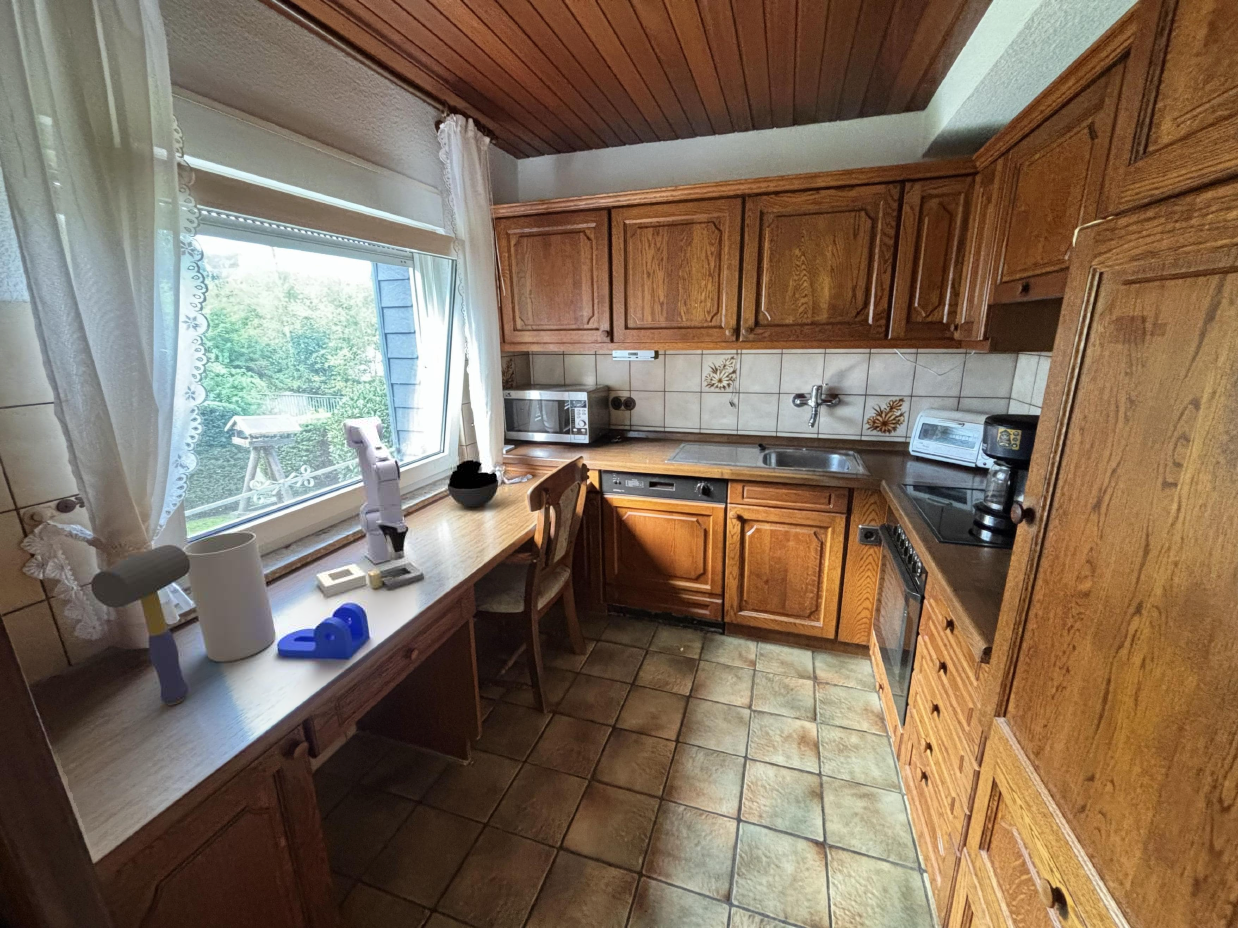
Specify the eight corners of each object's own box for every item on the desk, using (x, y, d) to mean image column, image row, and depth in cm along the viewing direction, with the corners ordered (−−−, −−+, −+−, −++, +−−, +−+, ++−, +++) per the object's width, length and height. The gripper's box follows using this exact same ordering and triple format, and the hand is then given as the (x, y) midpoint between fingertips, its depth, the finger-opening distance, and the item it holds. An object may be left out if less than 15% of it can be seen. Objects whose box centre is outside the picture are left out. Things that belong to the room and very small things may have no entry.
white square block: (317, 584, 143) (316, 574, 142) (355, 573, 149) (354, 563, 149) (327, 596, 136) (325, 586, 135) (366, 584, 142) (365, 574, 142)
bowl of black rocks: (487, 495, 222) (483, 454, 218) (508, 506, 207) (505, 461, 203) (442, 505, 210) (437, 461, 205) (461, 517, 195) (457, 470, 190)
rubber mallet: (188, 678, 103) (153, 541, 96) (222, 680, 103) (190, 541, 95) (125, 723, 91) (80, 570, 84) (163, 725, 90) (121, 571, 83)
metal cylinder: (387, 557, 144) (384, 534, 142) (401, 553, 147) (398, 530, 145) (392, 561, 141) (389, 538, 139) (406, 557, 144) (403, 534, 142)
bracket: (370, 638, 117) (364, 602, 114) (348, 660, 109) (342, 622, 106) (296, 635, 118) (289, 600, 116) (269, 657, 110) (261, 620, 108)
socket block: (375, 578, 146) (374, 572, 145) (410, 567, 152) (409, 562, 152) (388, 590, 139) (387, 584, 138) (424, 578, 145) (423, 572, 145)
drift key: (369, 585, 141) (367, 571, 140) (388, 579, 145) (386, 566, 144) (373, 588, 139) (371, 575, 138) (392, 582, 143) (390, 569, 142)
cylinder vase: (194, 656, 110) (167, 550, 104) (251, 626, 122) (230, 529, 116) (233, 668, 106) (208, 558, 100) (289, 636, 118) (269, 535, 112)
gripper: (366, 500, 143) (372, 545, 146) (384, 512, 132) (390, 561, 135) (391, 495, 147) (397, 539, 150) (411, 506, 137) (416, 553, 140)
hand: (395, 549), depth 143 cm, fingers closed on metal cylinder, 4 cm apart
